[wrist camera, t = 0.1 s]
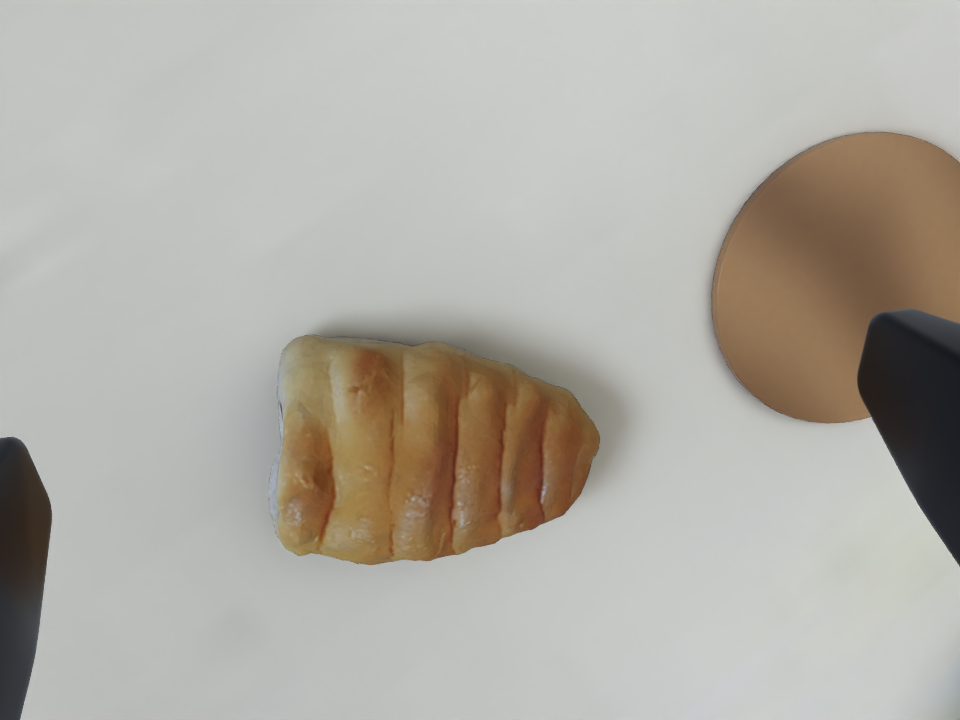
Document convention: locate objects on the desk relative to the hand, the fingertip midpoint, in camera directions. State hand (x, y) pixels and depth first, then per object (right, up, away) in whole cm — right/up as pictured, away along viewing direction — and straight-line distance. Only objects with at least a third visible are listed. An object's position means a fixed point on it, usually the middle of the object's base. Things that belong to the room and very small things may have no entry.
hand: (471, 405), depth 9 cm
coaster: (+11, +3, +17) cm, 21 cm away
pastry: (-2, -1, +17) cm, 17 cm away
